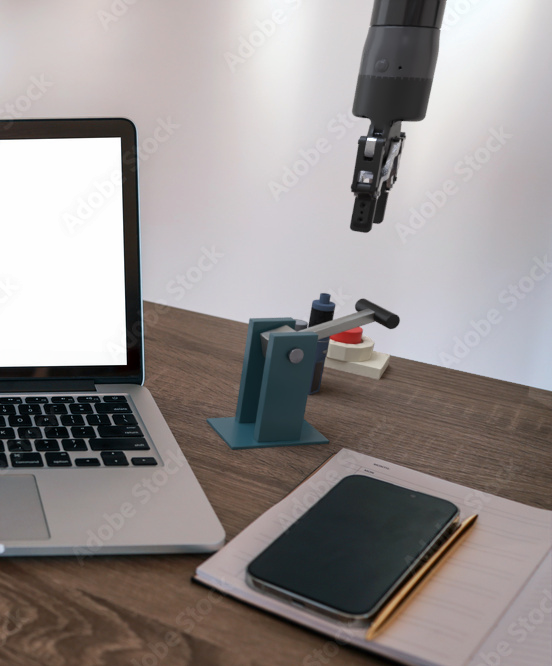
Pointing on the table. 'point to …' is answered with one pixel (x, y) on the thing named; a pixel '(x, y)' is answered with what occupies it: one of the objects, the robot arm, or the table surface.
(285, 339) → the bracket
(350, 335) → the button
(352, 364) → the button box
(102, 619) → the table surface
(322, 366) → the vaping device
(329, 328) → the lever
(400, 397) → the table surface
